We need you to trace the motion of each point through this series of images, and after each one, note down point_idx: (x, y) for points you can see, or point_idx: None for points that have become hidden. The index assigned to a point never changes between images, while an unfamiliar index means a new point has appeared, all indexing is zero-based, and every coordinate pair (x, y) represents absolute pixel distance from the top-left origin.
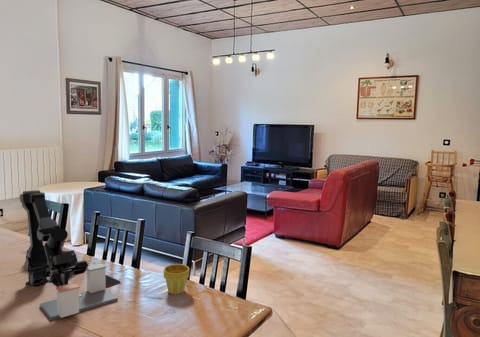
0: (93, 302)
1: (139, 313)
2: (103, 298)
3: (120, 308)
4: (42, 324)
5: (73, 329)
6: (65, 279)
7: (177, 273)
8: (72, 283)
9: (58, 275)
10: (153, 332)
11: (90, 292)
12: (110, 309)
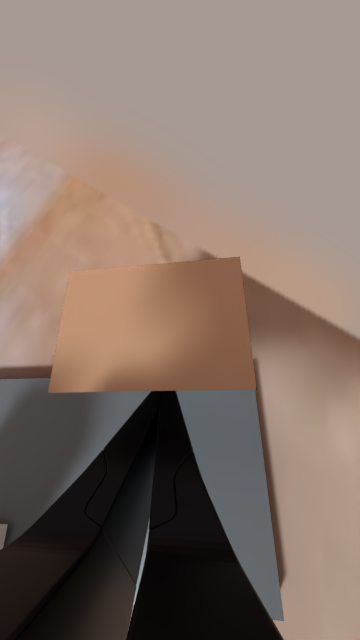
0: (57, 401)
1: (5, 252)
2: (6, 413)
3: (18, 313)
4: (286, 363)
5: None
6: (98, 502)
7: None
8: (79, 378)
9: (192, 637)
10: (49, 162)
11: (3, 529)
12: (43, 327)
